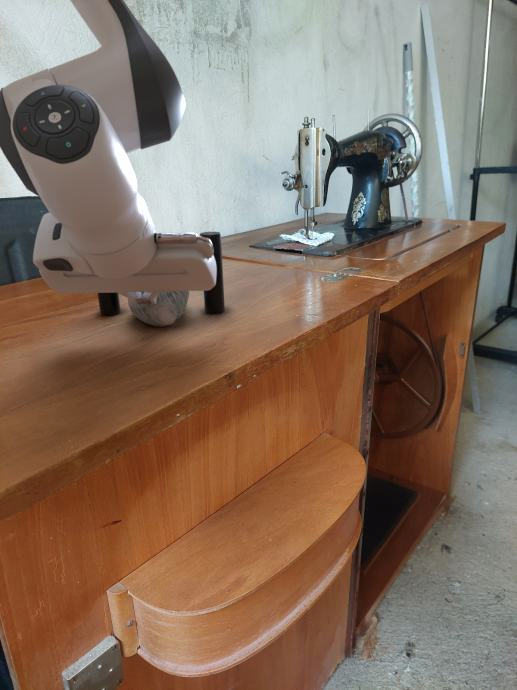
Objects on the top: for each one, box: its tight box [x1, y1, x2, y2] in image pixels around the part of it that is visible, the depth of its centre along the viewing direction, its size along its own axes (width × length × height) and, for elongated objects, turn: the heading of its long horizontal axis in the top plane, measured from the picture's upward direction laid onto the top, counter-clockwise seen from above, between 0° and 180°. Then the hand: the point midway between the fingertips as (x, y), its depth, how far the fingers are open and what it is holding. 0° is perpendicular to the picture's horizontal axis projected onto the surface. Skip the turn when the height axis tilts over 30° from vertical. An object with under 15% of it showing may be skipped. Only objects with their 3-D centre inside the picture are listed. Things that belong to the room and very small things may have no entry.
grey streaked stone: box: [127, 291, 190, 328], centre depth 76 cm, size 14×10×10 cm
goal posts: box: [97, 231, 226, 317], centre depth 77 cm, size 19×3×12 cm, turn 88°
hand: (146, 299), depth 68 cm, fingers closed, pressing on grey streaked stone
